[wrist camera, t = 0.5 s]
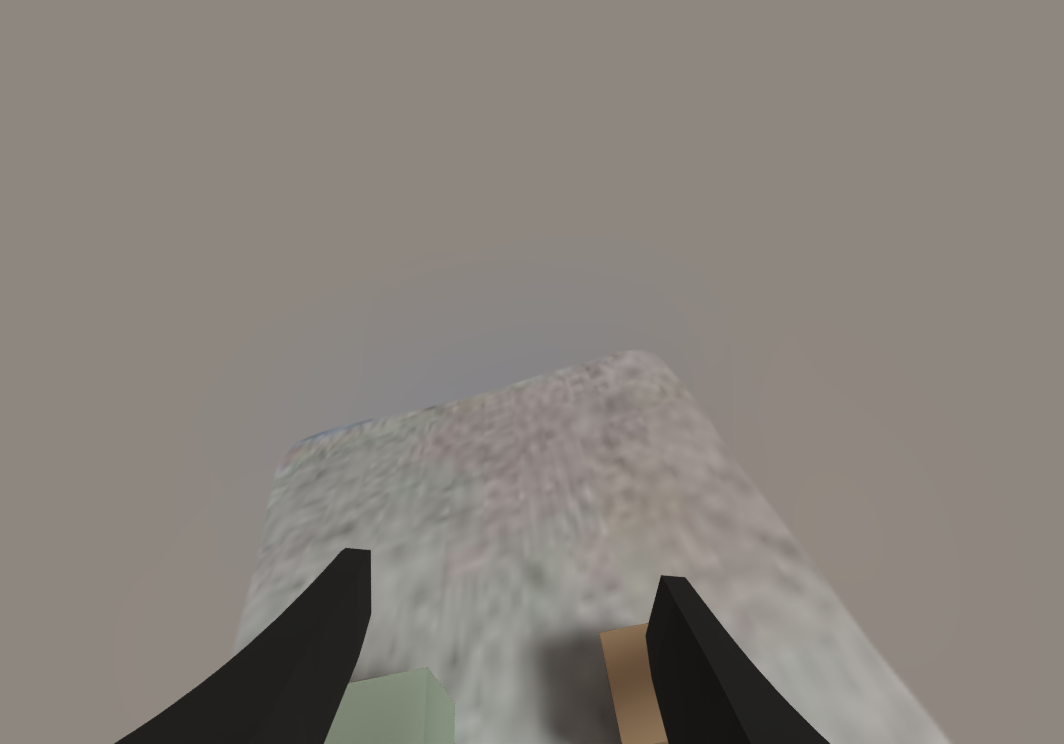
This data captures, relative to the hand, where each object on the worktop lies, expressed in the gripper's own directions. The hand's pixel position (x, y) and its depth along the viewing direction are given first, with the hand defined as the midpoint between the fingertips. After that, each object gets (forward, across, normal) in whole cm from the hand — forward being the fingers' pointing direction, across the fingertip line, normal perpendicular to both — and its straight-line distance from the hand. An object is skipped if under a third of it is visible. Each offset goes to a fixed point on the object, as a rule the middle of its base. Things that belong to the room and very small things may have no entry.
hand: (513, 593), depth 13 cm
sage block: (+8, +4, +21) cm, 22 cm away
